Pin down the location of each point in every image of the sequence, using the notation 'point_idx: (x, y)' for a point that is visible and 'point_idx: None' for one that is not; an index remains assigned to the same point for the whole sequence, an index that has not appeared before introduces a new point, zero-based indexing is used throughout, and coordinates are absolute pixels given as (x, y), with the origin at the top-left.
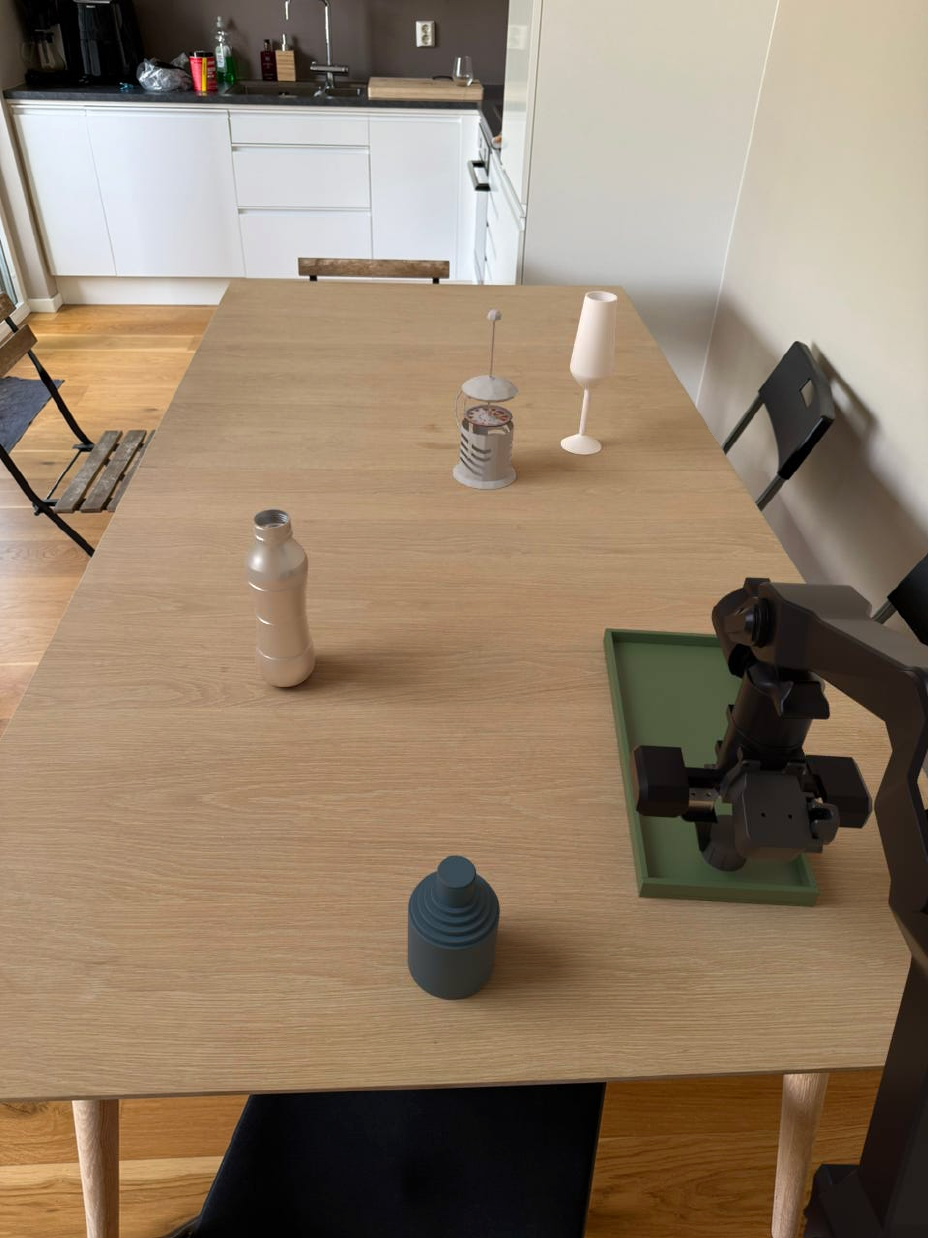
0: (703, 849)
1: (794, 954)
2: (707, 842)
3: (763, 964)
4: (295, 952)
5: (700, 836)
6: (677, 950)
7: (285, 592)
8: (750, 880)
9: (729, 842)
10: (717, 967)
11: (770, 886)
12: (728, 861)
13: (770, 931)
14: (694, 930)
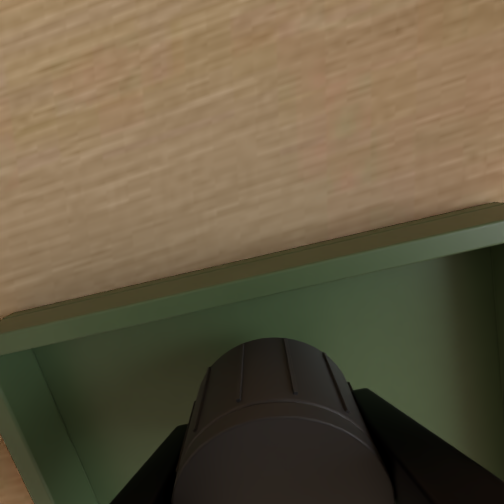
0: (361, 397)
1: (42, 141)
2: (381, 433)
3: (124, 75)
4: None
5: (459, 462)
6: (381, 42)
7: None
8: (181, 342)
9: (286, 462)
10: (258, 17)
11: (112, 323)
12: (268, 369)
13: (115, 199)
14: (330, 134)
